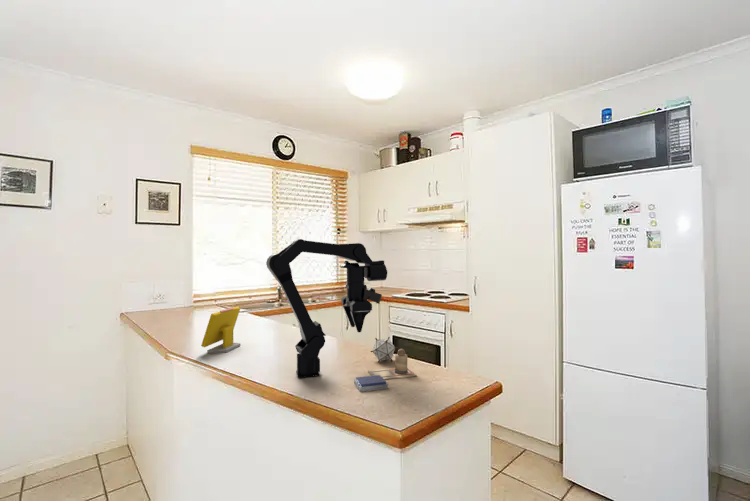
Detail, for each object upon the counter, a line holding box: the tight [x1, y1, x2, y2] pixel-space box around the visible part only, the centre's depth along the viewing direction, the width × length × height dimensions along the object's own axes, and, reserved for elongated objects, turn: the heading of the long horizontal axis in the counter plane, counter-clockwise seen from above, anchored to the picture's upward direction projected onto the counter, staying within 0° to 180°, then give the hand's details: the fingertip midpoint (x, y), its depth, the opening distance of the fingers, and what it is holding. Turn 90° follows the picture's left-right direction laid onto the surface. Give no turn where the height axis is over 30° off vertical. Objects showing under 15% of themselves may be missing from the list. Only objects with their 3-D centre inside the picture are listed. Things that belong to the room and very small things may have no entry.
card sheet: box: [367, 367, 418, 381], centre depth 119 cm, size 13×9×1 cm
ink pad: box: [353, 375, 389, 392], centre depth 109 cm, size 8×7×2 cm
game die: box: [370, 336, 399, 363], centre depth 134 cm, size 9×8×10 cm
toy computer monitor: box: [201, 306, 241, 354], centre depth 153 cm, size 20×8×16 cm, turn 172°
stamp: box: [394, 348, 409, 374], centre depth 120 cm, size 4×4×7 cm
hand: (356, 329), depth 126 cm, fingers open, 9 cm apart
